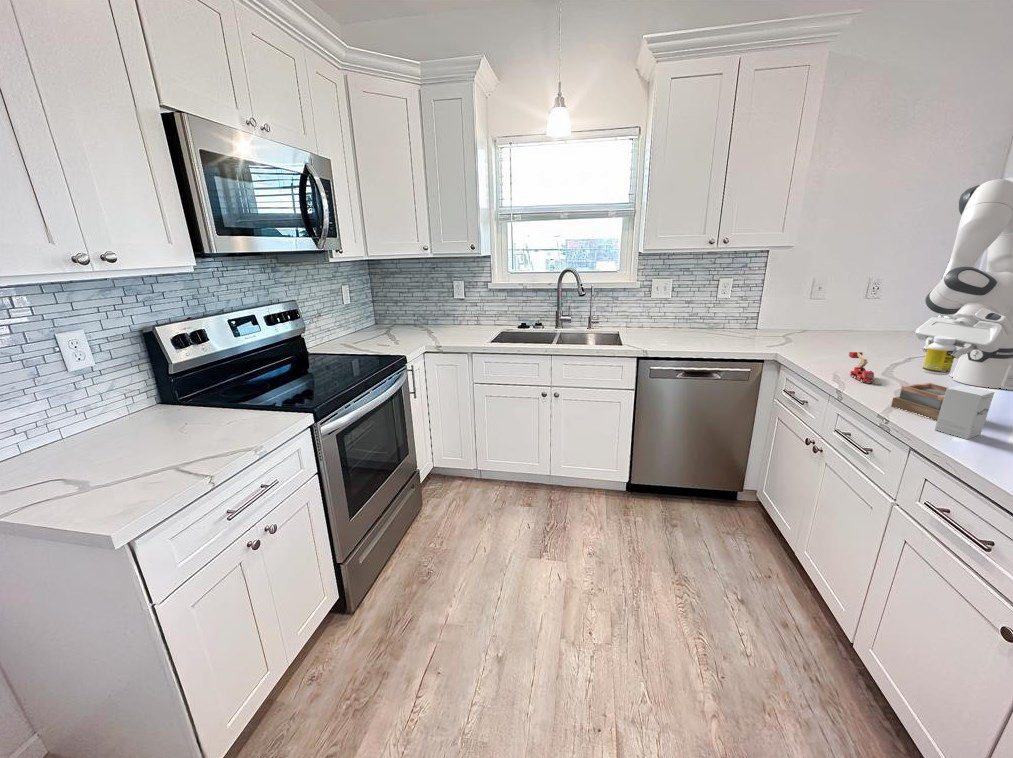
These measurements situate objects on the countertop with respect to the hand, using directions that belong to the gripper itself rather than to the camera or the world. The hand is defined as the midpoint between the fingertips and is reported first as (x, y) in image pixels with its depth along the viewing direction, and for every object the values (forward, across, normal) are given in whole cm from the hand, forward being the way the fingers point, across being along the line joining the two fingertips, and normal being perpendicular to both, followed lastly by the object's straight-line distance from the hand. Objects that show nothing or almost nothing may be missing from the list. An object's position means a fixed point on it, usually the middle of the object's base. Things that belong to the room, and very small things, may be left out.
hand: (939, 353), depth 132 cm
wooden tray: (+12, +1, +14) cm, 18 cm away
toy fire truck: (+4, -32, +22) cm, 39 cm away
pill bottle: (+4, 0, +5) cm, 6 cm away
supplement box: (+20, +15, +7) cm, 26 cm away
